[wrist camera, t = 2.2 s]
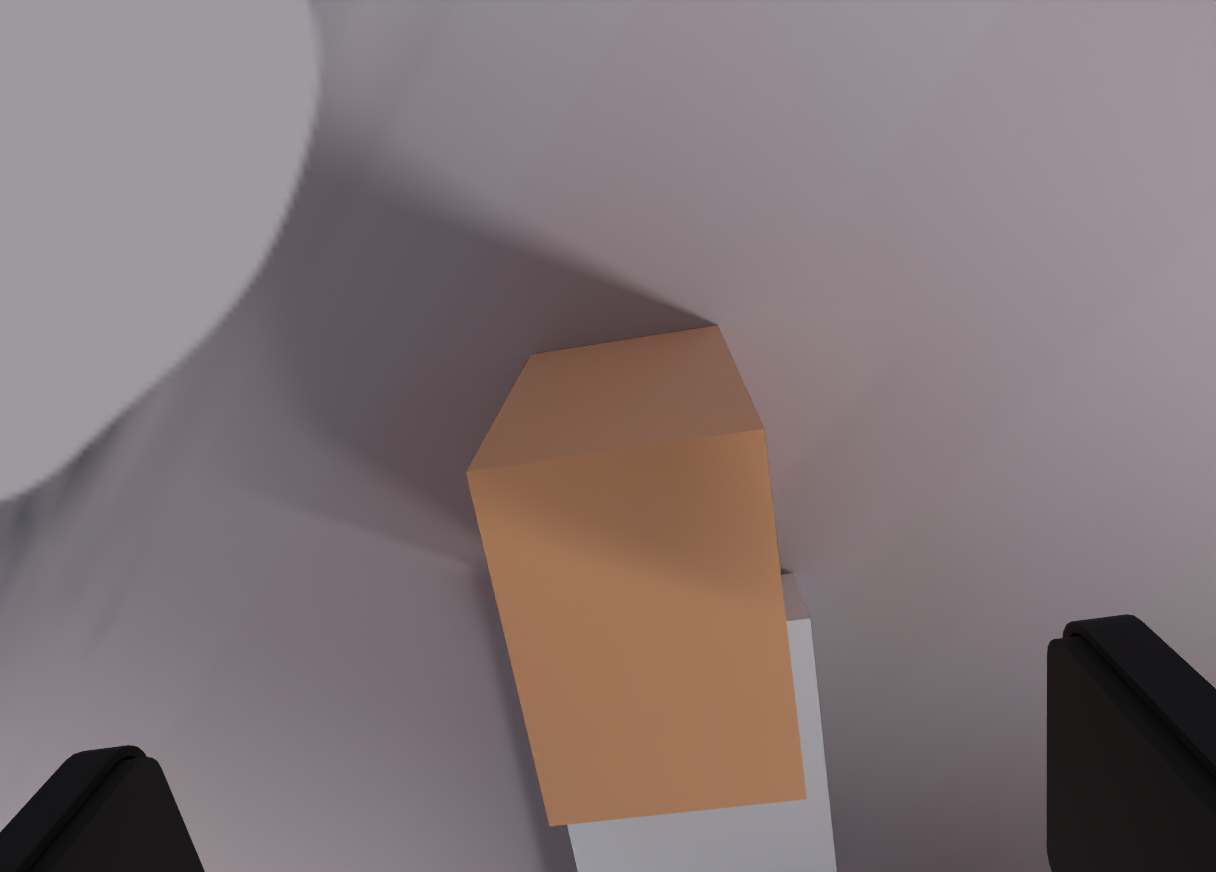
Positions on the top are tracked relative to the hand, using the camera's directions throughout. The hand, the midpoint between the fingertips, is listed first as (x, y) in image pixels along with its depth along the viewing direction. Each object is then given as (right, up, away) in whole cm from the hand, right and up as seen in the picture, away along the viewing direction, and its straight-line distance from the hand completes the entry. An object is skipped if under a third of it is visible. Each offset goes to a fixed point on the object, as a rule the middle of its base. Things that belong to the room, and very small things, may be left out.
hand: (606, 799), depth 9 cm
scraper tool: (+2, -5, +13) cm, 14 cm away
